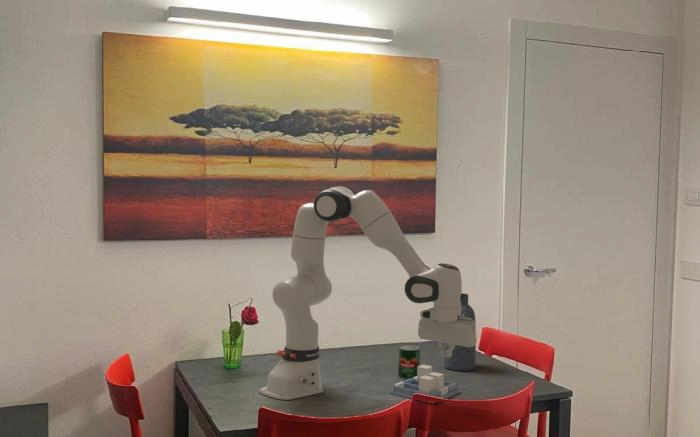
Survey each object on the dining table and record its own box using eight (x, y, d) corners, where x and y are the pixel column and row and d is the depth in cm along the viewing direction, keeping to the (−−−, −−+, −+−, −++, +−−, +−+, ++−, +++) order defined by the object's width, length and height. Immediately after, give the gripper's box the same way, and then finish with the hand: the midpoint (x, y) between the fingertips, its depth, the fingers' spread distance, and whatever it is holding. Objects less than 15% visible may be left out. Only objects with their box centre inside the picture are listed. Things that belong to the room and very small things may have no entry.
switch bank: (433, 404, 253) (433, 394, 252) (390, 393, 263) (390, 384, 263) (460, 392, 266) (460, 383, 266) (418, 382, 276) (418, 374, 276)
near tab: (428, 397, 255) (429, 379, 254) (418, 395, 257) (419, 377, 257) (434, 395, 258) (435, 377, 257) (424, 393, 260) (424, 375, 260)
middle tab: (437, 394, 259) (438, 376, 259) (427, 391, 262) (428, 374, 261) (443, 391, 262) (444, 374, 261) (433, 389, 264) (433, 372, 264)
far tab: (426, 385, 269) (427, 368, 268) (417, 383, 271) (417, 366, 271) (432, 383, 271) (432, 366, 271) (422, 381, 274) (423, 364, 273)
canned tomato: (401, 380, 279) (402, 350, 278) (394, 374, 287) (395, 345, 286) (422, 379, 281) (423, 349, 280) (415, 373, 289) (415, 344, 288)
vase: (474, 363, 304) (476, 292, 301) (476, 372, 292) (478, 297, 289) (443, 362, 305) (445, 291, 303) (443, 370, 293) (445, 296, 290)
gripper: (480, 317, 247) (479, 359, 248) (426, 308, 260) (425, 349, 261) (470, 320, 242) (469, 363, 243) (415, 311, 255) (415, 353, 256)
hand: (446, 356), depth 252 cm, fingers closed
